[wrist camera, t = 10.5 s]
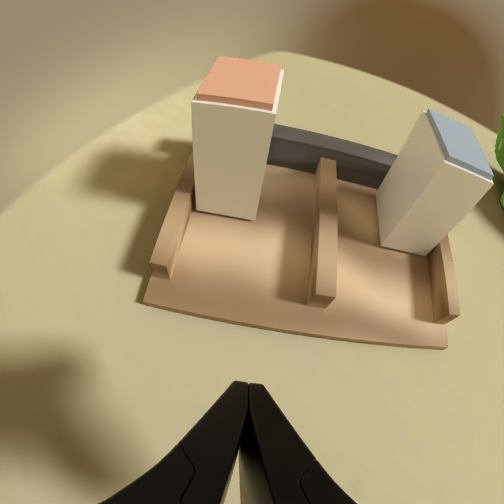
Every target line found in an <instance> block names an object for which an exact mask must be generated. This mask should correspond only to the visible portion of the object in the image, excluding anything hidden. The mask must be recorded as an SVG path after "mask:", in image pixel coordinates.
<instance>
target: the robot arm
mask: <svg viewBox="0 0 504 504" xmlns="http://www.w3.org/2000/svg"><path fill="white" fill-rule="evenodd" d="M238 450H239V475H240V498H241V504H357V503H356V502H355V501H354V500H352V499H351V498H350V497H349V496H348V495H347V494H346V493H345V492H344V491H343V490H342V489H341V488H340V487H339V486H338V485H337V484H336V483H335V482H334V480H333V479H332V478H331V477H330V476H329V474H328V473H327V472H326V471H325V470H324V468H323V467H322V466H321V464H320V463H319V462H318V461H317V460H316V458H315V457H314V455H313V454H312V453H311V451H310V450H309V449H308V447H307V446H306V445H305V443H304V442H303V440H302V439H301V438H300V436H299V435H298V434H297V432H296V431H295V429H294V428H293V427H292V425H291V424H290V422H289V421H288V420H287V418H286V417H285V415H284V414H283V413H282V411H281V410H280V408H279V407H278V405H277V404H276V403H275V401H274V400H273V398H272V397H271V395H270V394H269V392H268V391H267V390H266V388H265V387H264V385H262V384H256V383H249V385H248V383H247V382H241V381H234V382H233V383H232V384H231V385H230V386H229V387H228V388H227V389H226V391H225V392H224V393H223V394H222V395H221V396H220V398H219V399H218V400H217V401H216V402H215V403H214V404H213V406H212V407H211V408H210V409H209V410H208V411H207V412H206V413H205V414H204V416H203V417H202V418H201V419H200V420H199V421H198V422H197V423H196V424H195V426H194V427H193V428H192V429H191V430H190V431H189V432H188V433H187V434H186V435H185V436H184V437H183V439H182V440H181V441H180V442H179V443H178V445H176V446H175V447H174V448H173V449H172V450H171V451H170V452H169V453H168V454H167V455H166V456H165V457H164V458H163V459H162V460H161V461H160V462H159V463H157V464H156V465H155V466H154V467H152V468H151V469H150V470H149V471H147V472H146V473H145V474H143V475H142V476H141V477H139V478H138V479H136V480H135V481H133V482H132V483H131V484H129V485H128V486H126V487H125V488H123V489H122V490H120V491H119V492H117V493H116V494H114V495H113V496H111V497H110V498H108V499H106V500H105V501H103V502H101V503H98V504H224V501H225V498H226V494H227V491H228V487H229V484H230V480H231V477H232V473H233V470H234V466H235V462H236V459H237V455H238Z"/></svg>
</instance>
